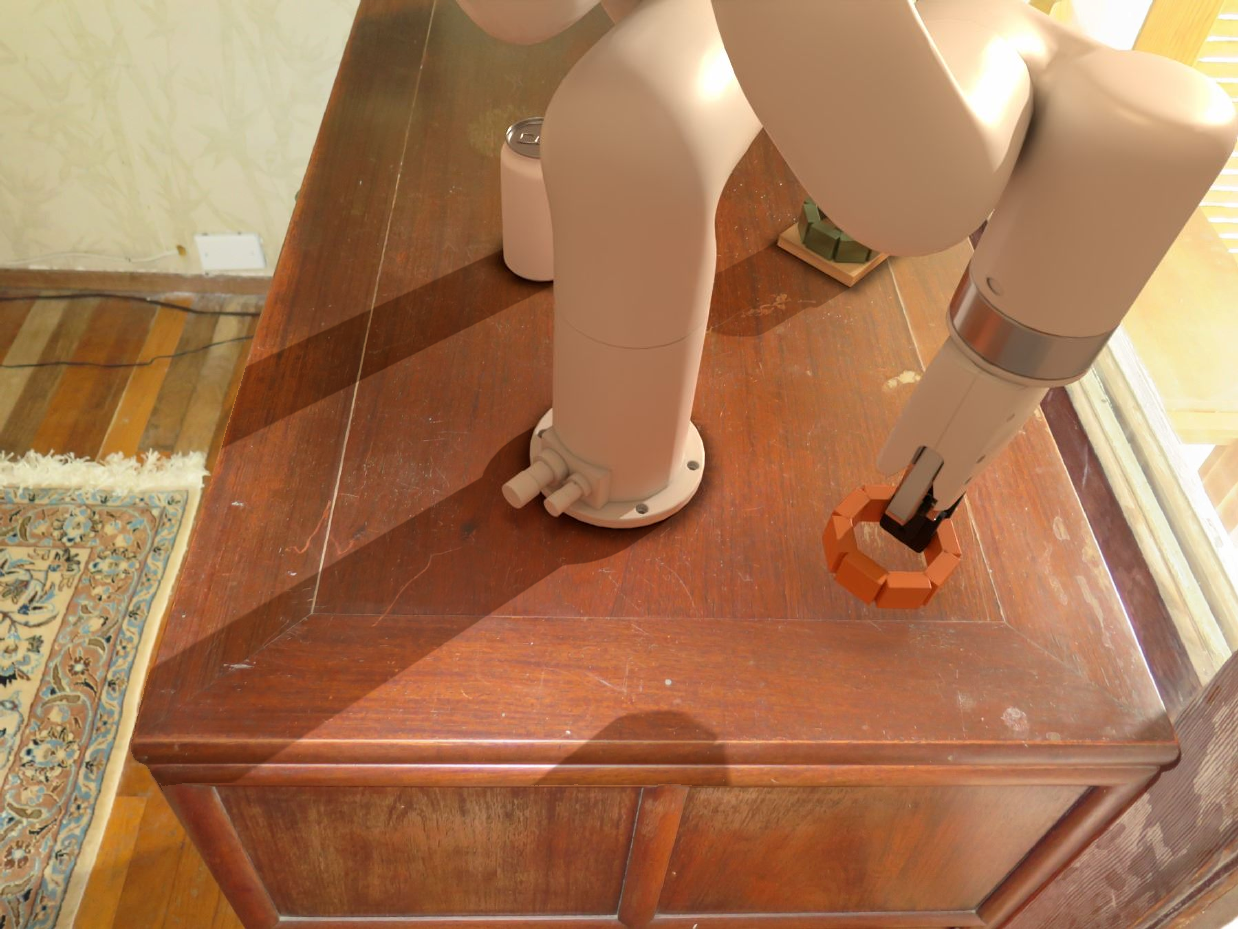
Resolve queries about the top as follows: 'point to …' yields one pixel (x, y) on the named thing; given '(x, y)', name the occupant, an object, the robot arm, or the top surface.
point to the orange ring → (871, 577)
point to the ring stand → (828, 246)
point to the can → (525, 204)
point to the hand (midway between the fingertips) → (911, 526)
